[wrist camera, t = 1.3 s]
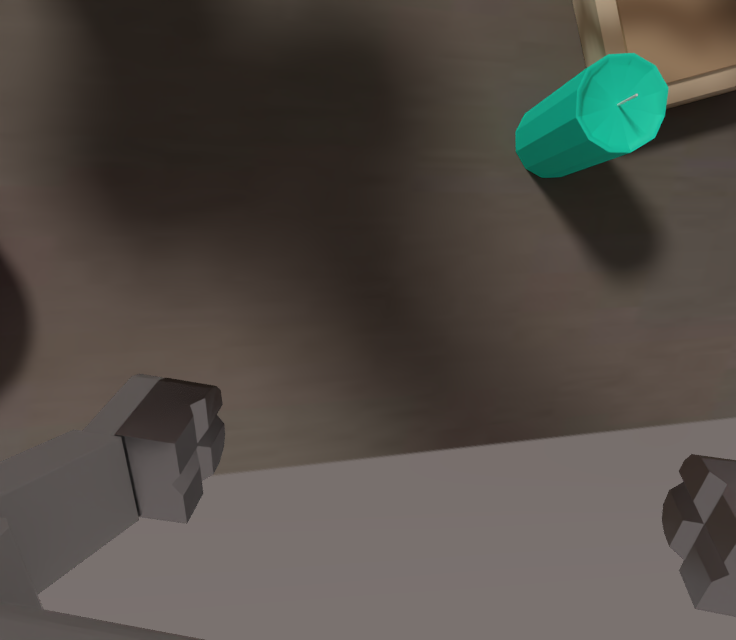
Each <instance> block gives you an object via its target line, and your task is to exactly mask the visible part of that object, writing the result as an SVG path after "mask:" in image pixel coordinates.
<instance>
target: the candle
mask: <svg viewBox="0 0 736 640" xmlns="http://www.w3.org/2000/svg"><path fill="white" fill-rule="evenodd" d="M668 90H669V87H668V86H667V84H666V82H665V81H664V79H663V77H662V75H661V74H660V72H659V70H658V69H657V67H656V65H654V64H652V63H651V62H649V61H647V60H645V59H644V58H642V57H640V56H639V55H637V54H635V53H621V54H608V55H606V56H605V57H603V58H601V59H600V60H598V61H597V62H595V63H594V64H592V65H591V66H589V67H587V68H586V69H585V70H583V71H582V72H581V73H579V74H578V75H577V76H575V77H574V78H573V79H571V80H570V81H568V82H567V83H566V84H564V85H563V86H562V87H560V88H559V89H558V90H556V91H555V92H554V93H552V94H551V95H550V96H548V97H547V98H545V99H544V100H543V101H541V102H540V103H539V104H537V105H536V106H535V107H533V108H532V109H531V110H529V111H528V112H526V113H525V114H524V116H523V118H522V120H521V122H520V124H519V126H518V128H517V130H516V153H517V155H518V156H519V158H520V160H521V162H522V163H523V165H524V167H525V169H527V170H529V171H531V172H532V173H534V174H536V175H538V176H539V177H541V178H552V177H563V176H565V175H568V174H571V173H574V172H577V171H580V170H583V169H585V168H588V167H591V166H594V165H597V164H600V163H603V162H605V161H608V160H611V159H614V158H617V157H620V156H623V155H626V154H628V153H631V152H633V151H634V150H636V149H638V148H639V147H641V146H642V145H644V144H646V143H647V142H649V141H651V140H652V139H654V138H655V137H656V135H657V132H658V130H659V128H660V126H661V124H662V121H663V119H664V117H665V112H666V105H667V97H668Z"/></svg>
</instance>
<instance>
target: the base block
mask: <svg viewBox="0 0 736 640" xmlns="http://www.w3.org/2000/svg"><path fill="white" fill-rule="evenodd" d="M572 1H573V6H574V11H575V16H576V21H577V26H578V31H579V35H580V40H581V45H582V50H583V55H584V60H585V65H586V68H587V67H589V66H591V65H592V64H594V63H595V62H597V61H598V60H600V59H601V58H603V57H605V56H606V55H608V54H621V53H635V54H637V55H639V56H640V57H642V58H644V59H645V60H647V61H649V62H651V63H652V64H654V65H656V67H657V69H658V70H659V72H660V74H661V75H662V77H663V79H664V81H665V82H666V84H667V86H668V87H669V90H668V97H667V105H666V109H668V108H672V107H676V106H679V105H683V104H687V103H691V102H694V101H698V100H702V99H705V98H709V97H713V96H716V95H720V94H724V93H727V92H731V91H735V90H736V0H572Z"/></svg>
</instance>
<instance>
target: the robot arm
mask: <svg viewBox="0 0 736 640" xmlns="http://www.w3.org/2000/svg"><path fill="white" fill-rule="evenodd" d="M222 405H223V404H222V397H221V390H220V389H219V388H218V387H217V386H213V385H207V384H201V383H195V382H189V381H183V380H177V379H171V378H162V377H157V376H151V375H144V374H137V375H134V376H132V377H131V378H130V379H129V380H128V381H127V382H126V383H125V384H124V385H123V386H122V388H121V389H120V390H119V391H118V392H117V393H116V394H115V395H114V396H113V397H112V399H111V400H110V401H109V402H108V403H107V404H106V405H105V406H104V407H103V408H102V410H101V411H100V412H99V413H98V414H97V415H96V416H95V417H94V418H93V419H92V421H91V422H90V423H89V424H88V425H87V426H86V427H85V428H84V429H83V430H82V431H80V430H72V431H69V432H67V433H65V434H63V435H60V436H58V437H56V438H53V439H51V440H49V441H47V442H44V443H42V444H40V445H37V446H35V447H33V448H31V449H28V450H26V451H24V452H21V453H19V454H17V455H14V456H12V457H10V458H8V459H5V460H3V461H1V462H0V640H203V639H198V638H193V637H188V636H182V635H177V634H172V633H166V632H161V631H155V630H150V629H145V628H139V627H134V626H128V625H123V624H118V623H113V622H107V621H102V620H96V619H91V618H86V617H81V616H75V615H70V614H64V613H59V612H54V611H49V610H44V609H43V607H42V604H41V602H40V599H39V597H38V594H39V593H40V592H42V591H43V590H45V589H46V588H47V587H49V586H50V585H51V584H53V583H54V582H55V581H57V580H58V579H59V578H61V577H62V576H64V575H65V574H66V573H68V572H69V571H70V570H72V569H73V568H74V567H76V566H77V565H78V564H80V563H81V562H82V561H84V560H85V559H87V558H88V557H89V556H90V555H92V554H93V553H95V552H96V551H97V550H99V549H100V548H101V547H103V546H104V545H106V543H108V542H110V541H111V540H112V539H114V538H115V537H116V536H118V535H119V534H120V533H122V532H123V531H124V530H126V529H127V528H129V527H130V526H131V525H133V524H134V523H135V522H137V521H138V520H139V517H143V518H150V519H157V520H165V521H172V522H180V523H188V521H189V519H190V517H191V515H192V513H193V512H194V510H195V508H196V506H197V504H198V502H199V500H200V498H201V496H202V495H203V487H202V481H203V480H205V479H206V478H208V477H210V476H211V475H213V474H214V472H215V470H216V468H217V466H218V464H219V462H220V459H221V455H222V452H223V448H224V440H225V427H224V423H223V422H222V420H221V419H220V418H219V417H218V416H217V413H218V411H219V410H220V408H221V406H222ZM679 473H680V475H681V477H682V479H683V483H681V484H679V485H678V486H676V487H674V488H672V489H671V490H669V492H668V495H667V497H666V499H665V502H664V504H663V515H662V523H663V529H664V534H665V536H666V539H667V541H668V544H669V547H671V548H672V549H673V550H674V551H675V552H676V553H677V554H678V555H679V556H680V557H681V558H682V559H684V561H683V564H682V566H681V568H680V570H679V571H680V574H681V576H682V578H683V581H684V583H685V586H686V588H687V590H688V593H689V595H690V597H691V600H692V602H693V605H694V607H695V609H698V610H704V611H709V612H714V613H719V614H725V615H729V616H734V617H736V460H730V459H722V458H715V457H708V456H701V455H693V454H691V455H690V456H689V457H688V458H687V459H685V461H684V462H683V464H682V466H681V468H680V470H679Z"/></svg>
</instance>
